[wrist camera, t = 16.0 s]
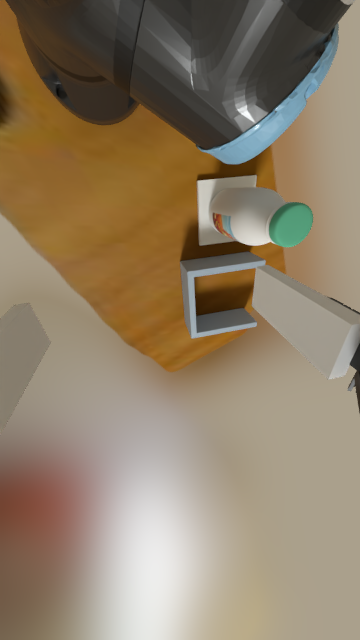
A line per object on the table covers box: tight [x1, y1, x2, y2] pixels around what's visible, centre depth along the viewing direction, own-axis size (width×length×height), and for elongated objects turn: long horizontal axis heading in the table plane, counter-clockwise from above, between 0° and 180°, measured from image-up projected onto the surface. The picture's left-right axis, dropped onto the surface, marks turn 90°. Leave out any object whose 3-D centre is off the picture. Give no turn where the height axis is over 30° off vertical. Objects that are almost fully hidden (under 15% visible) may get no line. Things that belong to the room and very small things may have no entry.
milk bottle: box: [209, 187, 313, 247], centre depth 31 cm, size 8×8×20 cm
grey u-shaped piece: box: [180, 252, 266, 338], centre depth 46 cm, size 15×15×7 cm
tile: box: [197, 175, 257, 246], centre depth 40 cm, size 11×11×1 cm
